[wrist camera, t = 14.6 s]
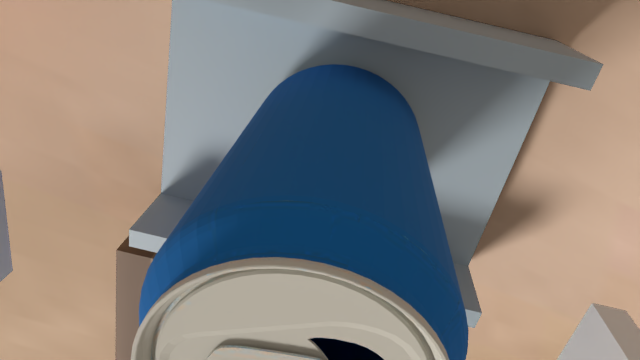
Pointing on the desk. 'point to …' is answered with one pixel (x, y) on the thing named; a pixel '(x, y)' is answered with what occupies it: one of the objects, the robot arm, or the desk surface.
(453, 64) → the trough
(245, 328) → the beverage can
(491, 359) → the desk surface
